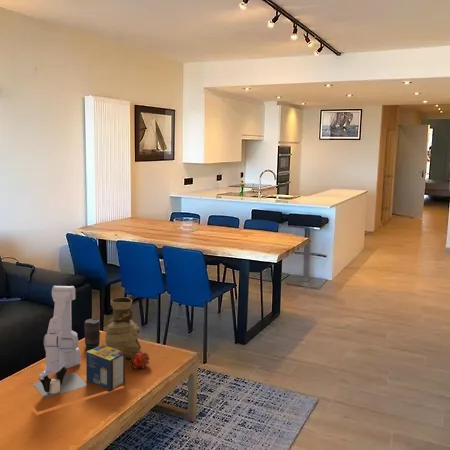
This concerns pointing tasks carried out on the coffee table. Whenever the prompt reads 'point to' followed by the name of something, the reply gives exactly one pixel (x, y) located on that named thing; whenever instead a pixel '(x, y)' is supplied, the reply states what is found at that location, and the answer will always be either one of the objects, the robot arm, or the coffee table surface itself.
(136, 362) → the dragon fruit
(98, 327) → the camera lens
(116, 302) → the ceramic vessel
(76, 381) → the base
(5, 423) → the coffee table surface
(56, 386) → the cap
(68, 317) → the robot arm
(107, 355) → the protein box
